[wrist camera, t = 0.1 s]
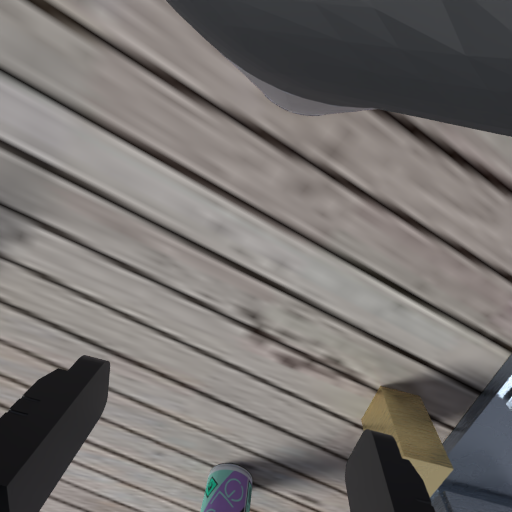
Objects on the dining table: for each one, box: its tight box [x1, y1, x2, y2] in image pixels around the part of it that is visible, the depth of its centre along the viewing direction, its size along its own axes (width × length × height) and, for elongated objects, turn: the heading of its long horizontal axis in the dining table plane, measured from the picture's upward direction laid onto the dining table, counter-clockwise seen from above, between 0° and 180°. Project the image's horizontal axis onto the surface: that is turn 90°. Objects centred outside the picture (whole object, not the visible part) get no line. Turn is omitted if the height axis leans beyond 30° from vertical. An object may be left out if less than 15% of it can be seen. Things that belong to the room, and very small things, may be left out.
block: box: [362, 386, 454, 497], centre depth 28 cm, size 5×4×7 cm
